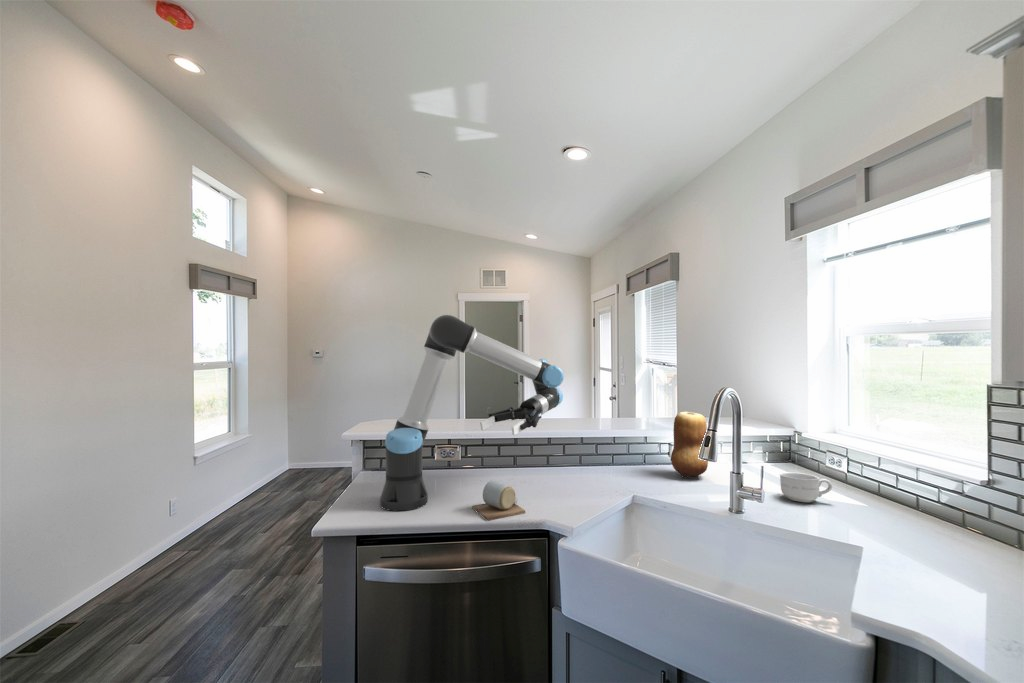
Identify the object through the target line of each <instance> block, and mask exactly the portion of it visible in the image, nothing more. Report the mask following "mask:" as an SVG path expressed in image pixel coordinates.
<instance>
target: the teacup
mask: <svg viewBox="0 0 1024 683" xmlns="http://www.w3.org/2000/svg"><path fill="white" fill-rule="evenodd" d="M779 478H780V480H779V482H780V490H781V492H782V494H783V495H784V496H785V497H786V498H787V499H788V500H791V501H794V502H800V503H812V502H814V501H815V500H816V499H818V498H821V497H822V496H823V495H825V494H828V493H830V492H831V491H832V489H833V484H832V482H831V481H830V480H829V479H826V478H821V479H820V478H819V476H816V475H812V474H809V473H802V472H781V473H779ZM823 483H826V484H827V486H828V487H827V488H826V489H824V490H821V491H820V487H821V485H822V484H823Z"/></svg>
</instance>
